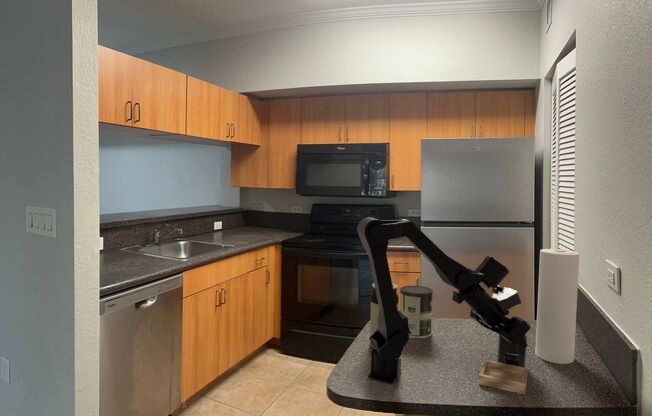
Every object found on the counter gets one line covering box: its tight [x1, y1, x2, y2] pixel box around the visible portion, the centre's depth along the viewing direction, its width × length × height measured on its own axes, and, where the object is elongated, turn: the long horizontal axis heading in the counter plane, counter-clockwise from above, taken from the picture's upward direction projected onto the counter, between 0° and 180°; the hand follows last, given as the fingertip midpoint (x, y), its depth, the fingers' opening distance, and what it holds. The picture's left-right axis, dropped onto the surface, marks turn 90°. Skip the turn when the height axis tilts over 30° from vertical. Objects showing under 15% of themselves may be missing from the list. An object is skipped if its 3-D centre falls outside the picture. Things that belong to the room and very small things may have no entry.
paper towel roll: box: [534, 248, 580, 365], centre depth 114 cm, size 9×9×30 cm
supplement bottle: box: [496, 332, 528, 368], centre depth 108 cm, size 7×7×12 cm
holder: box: [478, 359, 528, 396], centre depth 100 cm, size 10×10×2 cm
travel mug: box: [369, 282, 400, 348], centre depth 121 cm, size 8×8×18 cm
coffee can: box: [399, 285, 434, 339], centre depth 131 cm, size 10×10×14 cm
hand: (517, 341), depth 108 cm, fingers closed on supplement bottle, 7 cm apart
